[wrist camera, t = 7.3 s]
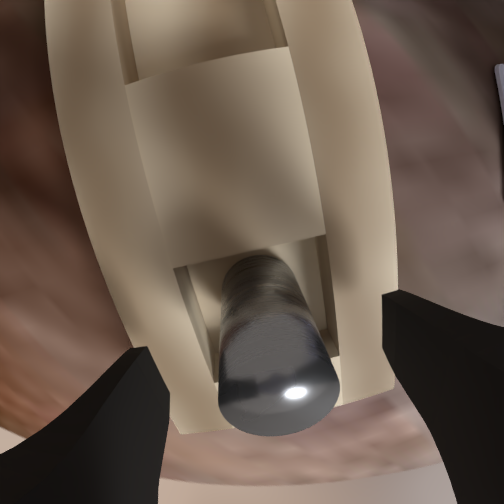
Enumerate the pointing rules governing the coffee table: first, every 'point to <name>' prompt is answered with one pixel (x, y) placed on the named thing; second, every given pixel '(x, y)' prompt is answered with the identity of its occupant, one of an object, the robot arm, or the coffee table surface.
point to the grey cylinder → (271, 352)
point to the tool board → (227, 173)
